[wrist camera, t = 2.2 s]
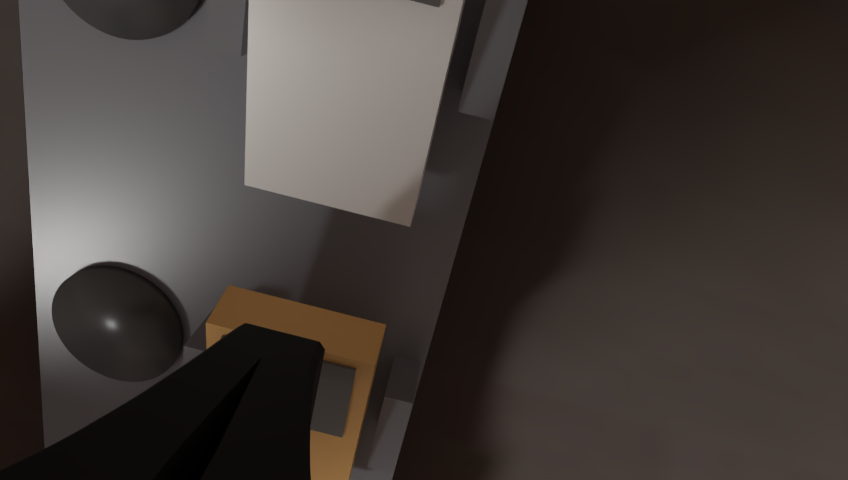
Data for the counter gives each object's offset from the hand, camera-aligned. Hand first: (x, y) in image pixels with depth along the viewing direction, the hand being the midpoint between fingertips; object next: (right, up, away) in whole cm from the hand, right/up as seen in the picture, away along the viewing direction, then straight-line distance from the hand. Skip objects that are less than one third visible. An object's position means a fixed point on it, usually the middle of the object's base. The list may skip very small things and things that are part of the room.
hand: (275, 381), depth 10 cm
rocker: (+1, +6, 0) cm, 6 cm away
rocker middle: (0, -1, +3) cm, 4 cm away
